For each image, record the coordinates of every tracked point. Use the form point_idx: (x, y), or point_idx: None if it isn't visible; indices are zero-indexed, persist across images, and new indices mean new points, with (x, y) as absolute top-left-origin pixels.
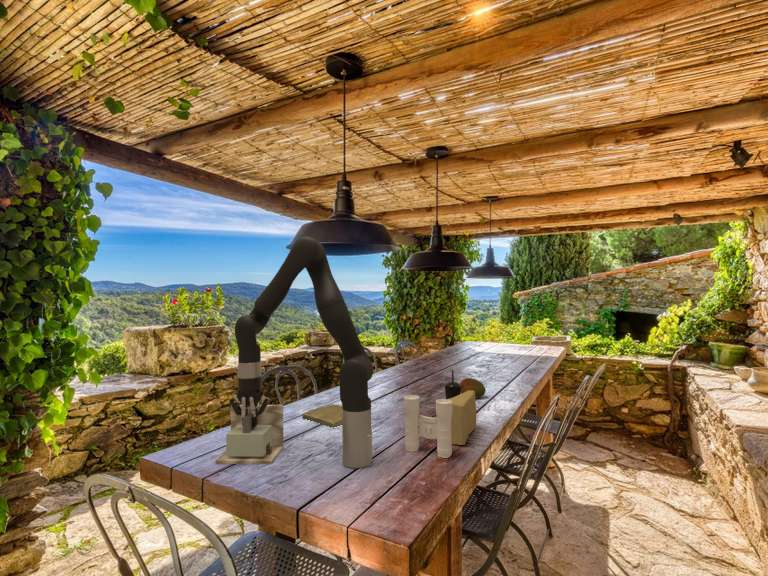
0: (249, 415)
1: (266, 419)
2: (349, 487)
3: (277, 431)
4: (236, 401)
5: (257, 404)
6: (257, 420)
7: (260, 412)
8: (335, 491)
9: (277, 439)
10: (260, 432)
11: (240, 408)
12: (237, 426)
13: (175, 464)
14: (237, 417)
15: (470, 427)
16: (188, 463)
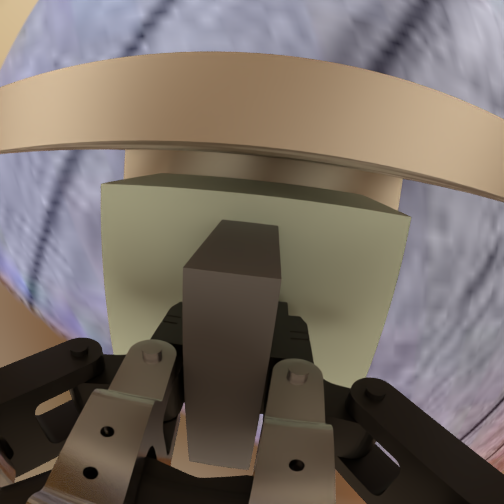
0: (231, 429)
1: (368, 168)
2: (499, 420)
3: (416, 180)
4: (4, 479)
5: (327, 471)
6: (309, 344)
7: (362, 459)
8: (475, 436)
9: (394, 176)
10: (336, 372)
11: (65, 391)
12: (113, 223)
13: (24, 284)
14: (58, 148)
15: None
16: (49, 283)
